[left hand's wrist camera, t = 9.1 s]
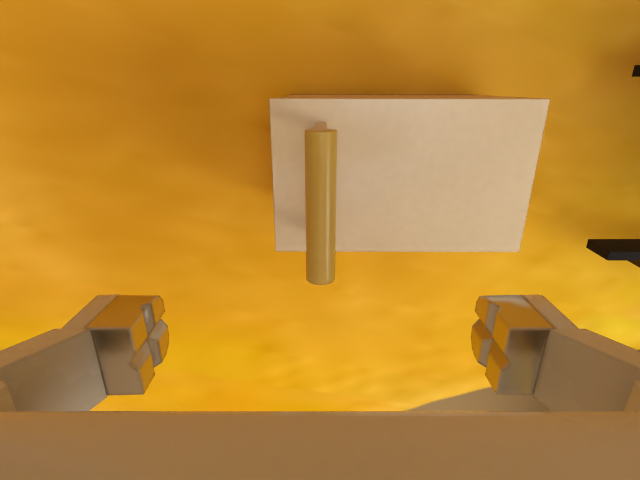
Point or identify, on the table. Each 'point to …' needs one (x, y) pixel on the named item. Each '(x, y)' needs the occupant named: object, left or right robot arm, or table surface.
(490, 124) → the lid
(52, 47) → the table surface
